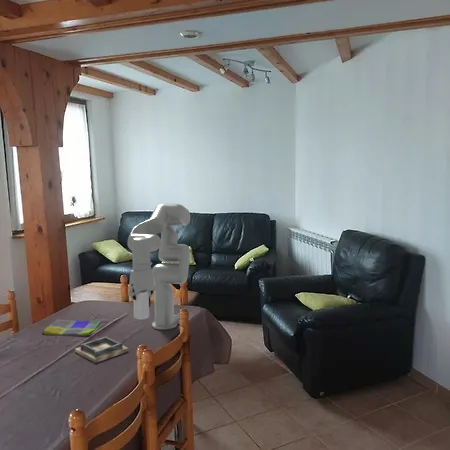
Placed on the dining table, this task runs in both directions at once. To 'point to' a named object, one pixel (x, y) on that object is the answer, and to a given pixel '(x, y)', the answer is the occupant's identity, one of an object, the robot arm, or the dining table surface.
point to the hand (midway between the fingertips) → (142, 307)
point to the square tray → (101, 349)
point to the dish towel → (72, 328)
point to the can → (141, 305)
